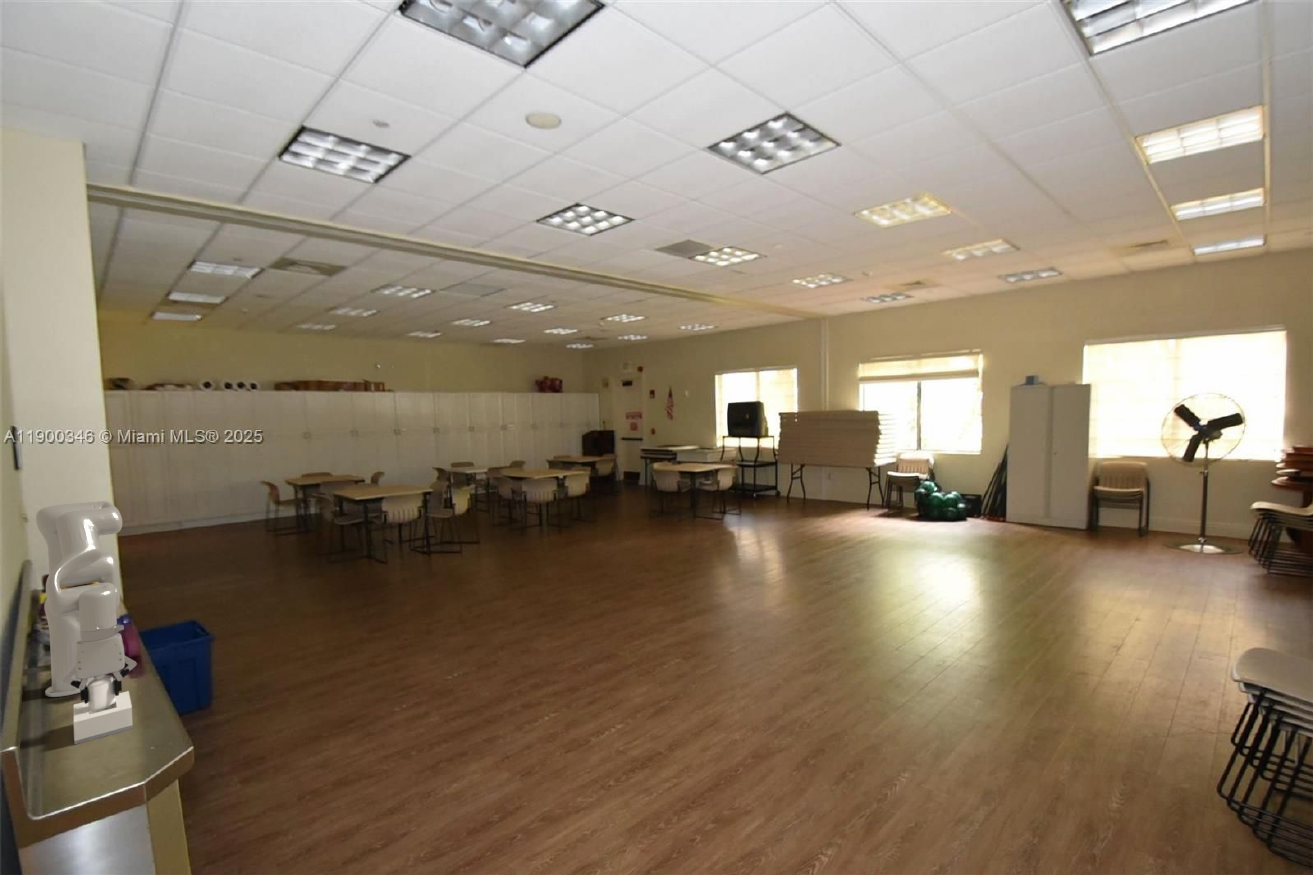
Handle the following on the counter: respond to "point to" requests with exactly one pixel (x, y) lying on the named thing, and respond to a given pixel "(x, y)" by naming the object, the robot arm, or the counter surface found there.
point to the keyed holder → (102, 719)
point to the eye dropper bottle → (101, 692)
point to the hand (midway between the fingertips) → (101, 697)
